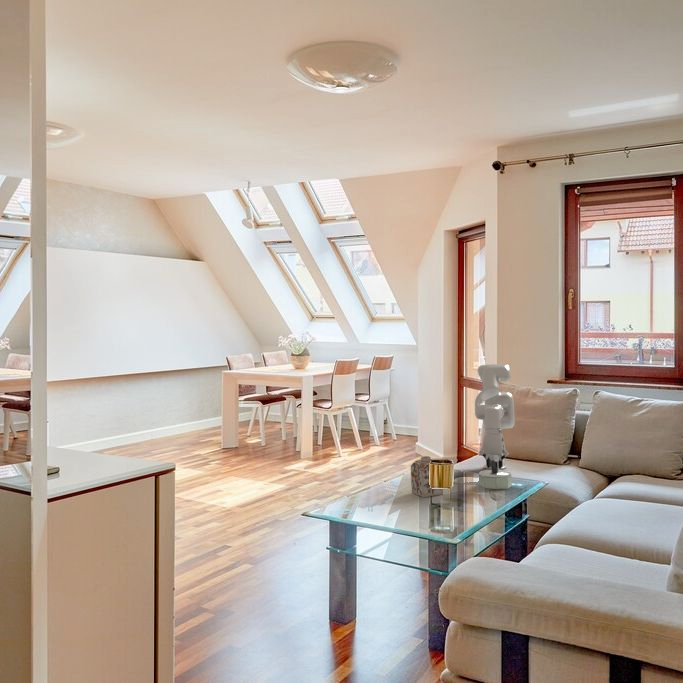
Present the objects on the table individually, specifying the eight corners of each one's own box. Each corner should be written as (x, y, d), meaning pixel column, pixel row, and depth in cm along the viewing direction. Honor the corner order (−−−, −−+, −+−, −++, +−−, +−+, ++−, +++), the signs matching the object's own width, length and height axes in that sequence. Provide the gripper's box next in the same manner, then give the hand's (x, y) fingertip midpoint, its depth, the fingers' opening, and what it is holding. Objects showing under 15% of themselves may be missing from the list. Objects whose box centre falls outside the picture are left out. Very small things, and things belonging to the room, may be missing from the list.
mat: (459, 476, 364) (459, 475, 364) (489, 479, 355) (489, 477, 355) (446, 483, 350) (446, 482, 350) (477, 486, 340) (477, 484, 340)
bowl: (486, 482, 348) (486, 470, 348) (514, 484, 340) (514, 472, 340) (475, 488, 336) (475, 476, 336) (504, 490, 328) (504, 478, 328)
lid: (485, 470, 349) (485, 457, 349) (515, 472, 340) (514, 458, 340) (474, 476, 336) (473, 462, 335) (504, 478, 327) (504, 464, 327)
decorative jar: (432, 489, 337) (430, 453, 337) (444, 494, 327) (442, 457, 326) (410, 493, 333) (409, 456, 333) (422, 497, 322) (420, 460, 322)
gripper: (512, 431, 336) (513, 467, 336) (479, 429, 345) (481, 465, 346) (507, 433, 330) (508, 470, 330) (473, 432, 339) (475, 468, 339)
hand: (494, 467), depth 338 cm, fingers open, 5 cm apart
